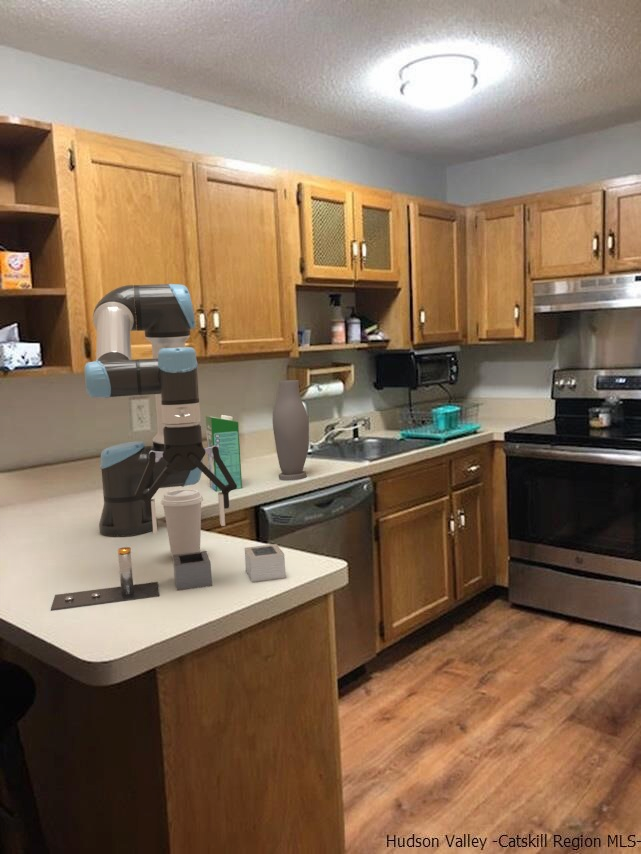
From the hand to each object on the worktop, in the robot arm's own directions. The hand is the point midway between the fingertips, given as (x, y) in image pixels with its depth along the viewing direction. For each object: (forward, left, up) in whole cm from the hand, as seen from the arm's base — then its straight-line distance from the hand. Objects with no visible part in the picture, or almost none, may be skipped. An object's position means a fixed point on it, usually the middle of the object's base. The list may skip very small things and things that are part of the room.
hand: (189, 528), depth 143 cm
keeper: (+2, -17, -11) cm, 21 cm away
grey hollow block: (0, 0, -11) cm, 11 cm away
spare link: (+1, +15, -11) cm, 19 cm away
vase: (-101, +44, -12) cm, 111 cm away
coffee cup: (-19, 0, -12) cm, 23 cm away
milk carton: (-94, +19, -12) cm, 97 cm away
